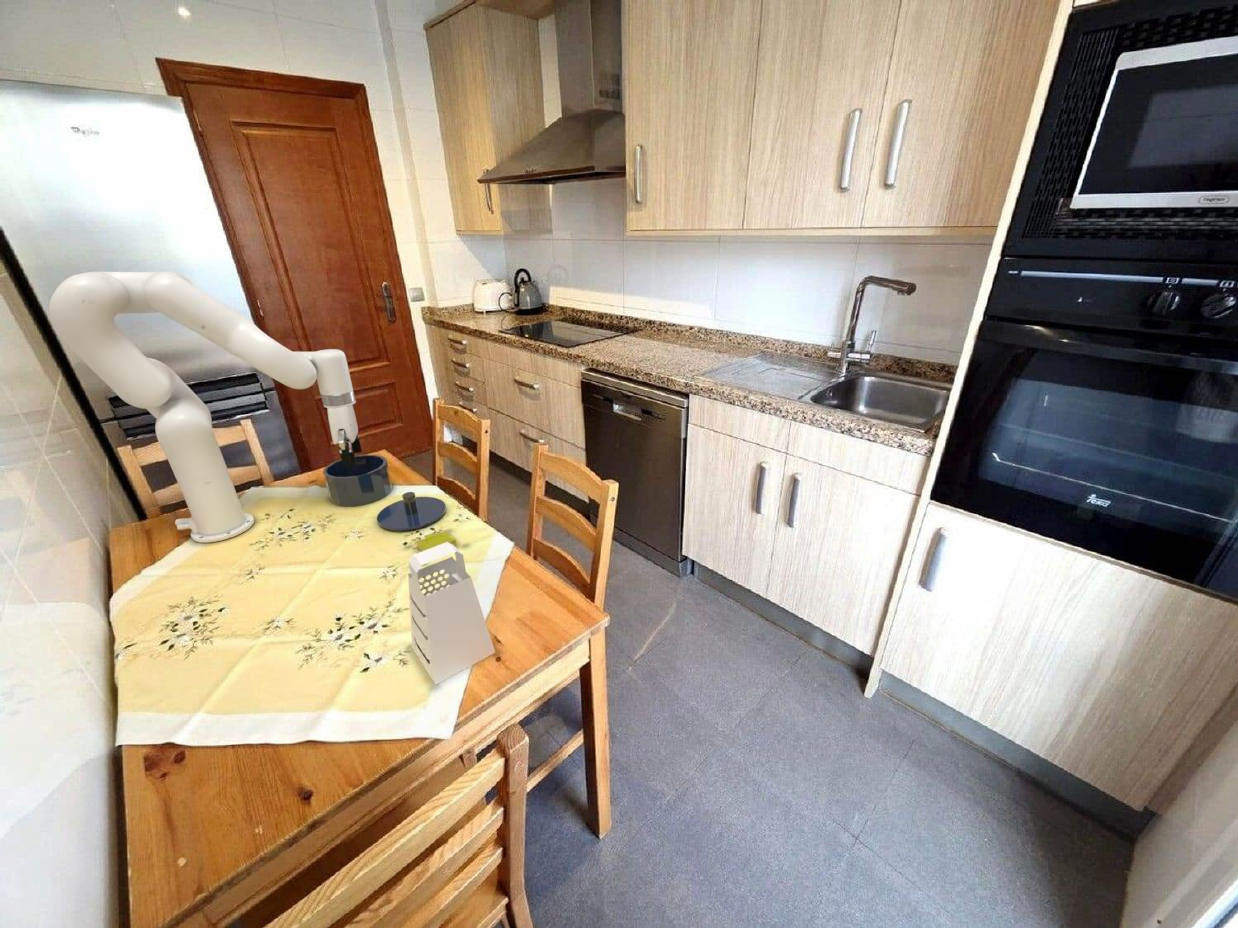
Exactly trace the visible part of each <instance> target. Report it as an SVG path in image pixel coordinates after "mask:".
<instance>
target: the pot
mask: <svg viewBox="0 0 1238 928" xmlns="http://www.w3.org/2000/svg"><path fill="white" fill-rule="evenodd" d="M355 459H356V463H357V465H356V466H351V467H343V464H342V460H341V458H340V459H338V460H336V461H333V462H331V463H330V464H328V465H326V466H325V467H324V468H323V471H322V475H323V478H324V482H325V486H326V488H327V493H328V496H329V500H331V503H332V504H334V505H335V506H338V507H345V508H347V507H348V508H350V507H351V508H352V507H361V506H365V505H369V504H372V503H376V502H379V501H380V500H382V499H384V498H386V497H387V496H388V495H390V493H391V492H392V491H393V483H392V478H391V474H390V469H389V468H390V467H389V465H388V461H387V458H385V456H382V455H379V454H359V455H355Z"/></svg>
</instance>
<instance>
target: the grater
mask: <svg viewBox="0 0 1238 928" xmlns="http://www.w3.org/2000/svg"><path fill="white" fill-rule="evenodd" d="M452 554H454V556H455V558H454V557H453V556H450V555H452ZM447 556H450V557H447ZM444 557H447V558H445V559H443V560H439V559H441V558H444ZM437 560H439V561H438V562H435V563H433V564H430V565H428V566H425V567H423V568H422V566H423V565H426V564H429V563H431V562H434V561H437ZM408 567H409V571H410V572H409V573H408V574H407V579H408V594H409V595H408V596H409V597H408V598H409V612H410V614H409V615H410V631H411V633H410V634H411V648H412V650H413V651H414V653H415V655H416V656H417V658H418V660H419V661H420V662H421V664H422V666H423V667H424V669H425V670H426V672H427V674H428V675H429V677H430V678H431V680H432V681H433V683H434V685H435V686H436V685H439V684H440V683H442V682H444V681H447V680H448V679H450V678H451V677H453V676H455V675H457V674H459V673H461V672H463V671H464V670H466V669H468V668H470V667H472V666H474V665H475V664H477V663H479V662H481V661H483V660H485V659H487V658H489V657H490V656H492V655H494V654H496V650H495V647H494V644H493V641H492V637H491V634H490V631H489V628H488V625H487V623H486V619H485V616H484V613H483V610H482V608H481V607H482V606H481V604H480V601H479V597H478V594H477V591H476V588H475V585H474V583H473V582H474V581H473V578H472V576H471V575H469V573H468V572H467V570H466V566H465V557H464V553H462V552H461V551H460V550H459V549H458V548H457V546H454V545H452V544H451V543H449V542H446V543H443V544H440V545H438V546H435V547H432V548H430V549H427V550H424V551H422V552H421V551H419V552H417V553H414V554H412V556H411V557H410V559H409V560H408ZM442 570H443V573H441V571H442ZM435 573H437V575H435V576H434V574H435ZM446 575H448V576H447V577H445V576H446ZM428 576H430V578H429V579H427V577H428ZM441 577H442V579H441V580H439V578H441ZM421 579H423V580H422V581H420V580H421ZM433 580H435V582H434V583H432V581H433ZM443 582H445V583H444V584H442V583H443ZM426 583H428V585H427V586H425V584H426ZM436 585H439V586H438V587H436ZM430 587H431V588H432V589H431V590H429V588H430ZM423 590H426V591H425V592H424V593H423V592H422V591H423ZM427 660H429V661H427Z"/></svg>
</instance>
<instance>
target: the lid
mask: <svg viewBox="0 0 1238 928" xmlns="http://www.w3.org/2000/svg"><path fill="white" fill-rule="evenodd" d="M401 498H402V499H401V500H398V501H395V502H393V503H391V504H389V505H387V506H385V507H383V509H381V510H380V512H379V513H378V514H377V515H376V516H377V517H376V521H377V524H378V525H379V526H380V527H381V528H383V529H384V530H389V531H411V530H416V529H419V528H423V527H426V526H429V525H432V524H433V523H435V522H437V521H438V520H439V519H440V518H442V517H443V516H444V515H445V513H446V511H447V505H446V503H445V502H444V501H443V500H441V499H439V498H437V497H434V496H433V497H432V496H416V492H413V491H407V492H405V493H403V494H402V495H401Z"/></svg>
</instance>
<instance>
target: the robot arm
mask: <svg viewBox="0 0 1238 928" xmlns="http://www.w3.org/2000/svg"><path fill="white" fill-rule="evenodd" d="M150 313H160V314H162V315H164V316H166V317H168V318H169V319H170V320H172V321H174V322H176V323H178V324H180V325H181V326H183V327H185V328H187V329H188V330H190V331H192V332H194V333H196V334H198V335H199V336H201V337H203V338H205V339H206V340H208V341H210V342H211V343H213V344H215V345H217V346H218V347H220V348H222V349H223V350H225V351H226V352H228V353H229V354H231V355H233V356H235V357H236V358H238V359H240V360H241V361H243V362H245V363H246V364H248V365H250V366H251V367H253V368H254V369H256V370H258V371H259V372H260V373H263V374H265V375H267V376H268V377H270V378H271V379H274V380H275V381H277V382H279V383H280V384H283V385H284V386H286V387H288V388H291V389H294V390H306V389H308V388H310V387H312V386H313V385H314V384H315V383H316V382H317V385H318V390H319V394H320V398H321V401H322V405H323V407H324V408H326V409H327V411H326V412H327V418H328V426H329V430H330V434H331V439H332V443H333V445H335V446H336V445H338V450H339V455H340V459H341V460H342V464H343V467H351V466H356V465H357V463H356V459H355V456H356V454H359V453H362V452H363V450H362V445H361V441H360V438H359V427H358V421H357V417H356V413H355V409H354V405H355V404H356V403H357V400H356V397H355V396H356V395H355V392H354V388H353V384H352V383H353V382H352V379H351V374H350V369H349V365H348V360H347V356H346V354H345V352H344V351H343V350H341V349H336V348H328V349H321V350H317V351H292V350H291V349H289V348H287V347H286V346H285V345H282V344H281V343H279V342H278V341H277V340H275V339H273V338H272V337H271V336H269V335H268V334H266V333H265V332H264V331H263V330H261V329H260V328H259V327H258V326H257V325H256V324H255V323H254V322H252V320H250V319H249V318H248V317H246V316H245V315H243V314H242V313H240V312H238V311H237V310H235V309H233V308H232V307H230V306H228V305H227V304H225V303H224V302H222V301H220V300H219V299H217V298H215V297H214V296H212V295H210V294H209V293H208V292H206V291H204V290H203V289H201V288H200V287H198V286H196V285H194V284H193V282H192V281H191V280H190V279H189V278H187V277H185V276H184V275H182V274H180V273H177V272H173V271H87V272H83V273H82V272H81V273H77V274H74V275H71V276H69V277H67V278H66V279H64V280H63V281H62V282H61V283H60V284H59V285H58V286H57V287H56V289H55V290H54V292H53V294H52V296H51V298H50V301H49V304H48V315H49V320H50V323H51V325H52V327H53V329H54V331H55V333H56V334H57V335H58V337H59V338H60V339H61V341H62V342H63V343H64V344H65V345H66V346H67V347H68V348H69V349H71V351H72V352H73V353H74V354H75V355H76V356H78V358H80V360H81V361H82V362H83V363H84V364H85V365H87V367H88V368H89V369H90V370H91V371H93V373H94V374H95V375H97V376H98V377H99V378H100V379H101V380H102V382H104V383H105V384H106V385H107V386H108V387H109V388H110V389H111V390H112V391H113V393H115V394H116V395H117V396H118V397H119V398H120V399H121V400H122V401H123V402H125V403H126V404H128V405H130V406H132V407H135V408H138V409H144V410H147V411H148V412H149V414H151V415H152V416H153V418H155V419H156V420H155V425H154V430H155V431H154V432H155V435H156V438H157V441H158V444H159V445H160V448H161V449H162V451H163V453H164V455H165V457H166V459H167V461H168V464H169V465H170V468H171V470H172V472H173V475H174V477H175V479H176V482H177V484H178V487H179V489H180V491H181V494H182V496H183V498H184V501H185V504H186V506H187V508H188V511H189V513H190V515H191V516H190V517H183V518H177V519H175V522H174V524H175V526H176V529H177V531H185V530H188V529H189V530H191V531H190V537H191V540H193V542H197V543H216V542H220V541H221V542H222V541H225V540H228V539H231V538H234V537H236V536H240V535H241V534H243V533H244V532H247V531H248V530H249V529H250V528H252V526H253V525H254V523H255V519H254V516H253V515H252V514H251V513H247V512H244V510H243V508H242V505H241V502H240V499H239V496H238V494H237V491H236V488H235V486H234V483H233V479H232V477H231V474H230V472H229V469H228V467H227V464H226V461H225V458H224V456H223V453H222V451H221V448H220V446H219V443H218V441H217V438H216V435H215V432H214V429H213V421H212V420H213V418H212V413H211V410H210V409H209V408H208V406H207V405H206V404H205V403H204V401H203V400H202V399H201V398H200V397H199V396H198V395H197V394H196V393H195V392H194V391H193V390H192V389H191V387H189V385H187V383H185V382H184V380H182V378H181V377H180V376H179V375H178V374H177V373H176V372H175V371H174V369H172V368H170V366H168V365H167V364H165V363H164V362H162V361H160V360H158V359H155V358H152V357H147V356H145V354H144V353H143V352H141V350H140V349H139V348H138V347H137V346H136V345H135V343H133V341H132V340H130V338H129V337H127V336H126V335H125V334H124V332H122V331H121V330H120V329H119V328H118V327H117V326H116V323H115V317H116V316H117V315H121V314H122V315H124V314H150Z"/></svg>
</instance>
